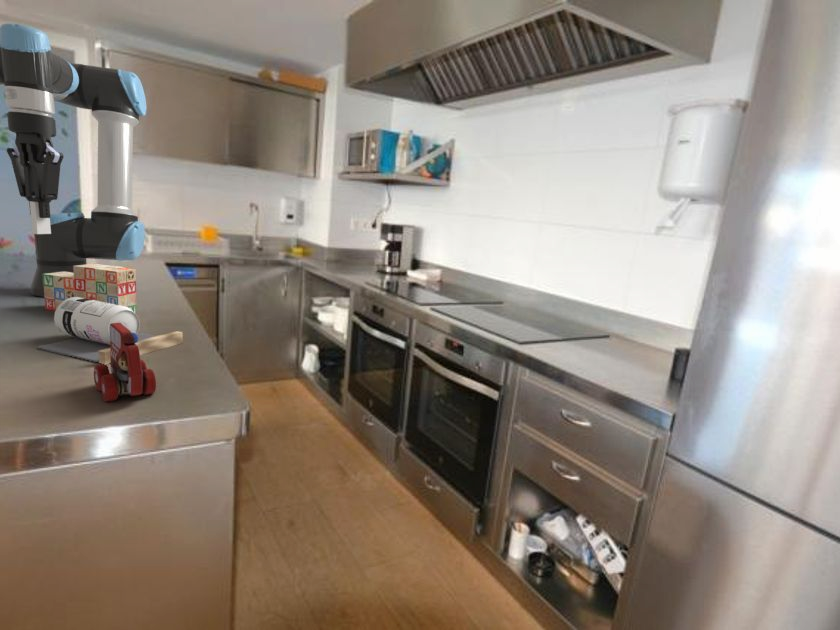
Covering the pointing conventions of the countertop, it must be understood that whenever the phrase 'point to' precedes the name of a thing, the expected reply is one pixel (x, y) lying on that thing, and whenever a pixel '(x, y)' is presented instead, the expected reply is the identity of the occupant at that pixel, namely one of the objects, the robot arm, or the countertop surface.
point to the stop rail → (148, 345)
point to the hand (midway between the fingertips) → (41, 233)
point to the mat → (83, 347)
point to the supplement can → (93, 319)
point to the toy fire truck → (124, 367)
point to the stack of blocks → (92, 285)
